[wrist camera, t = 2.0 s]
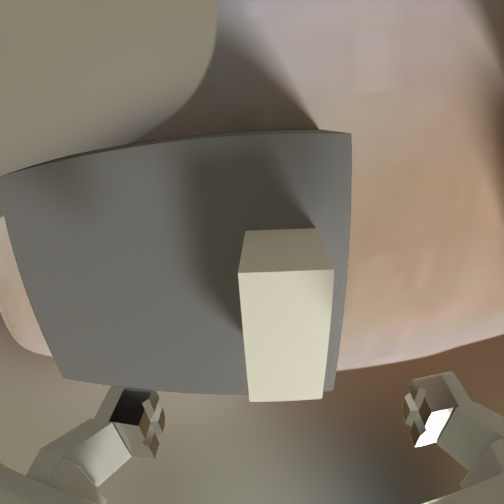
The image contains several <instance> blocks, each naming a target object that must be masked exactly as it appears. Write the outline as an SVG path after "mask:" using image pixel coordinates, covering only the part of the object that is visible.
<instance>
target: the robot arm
mask: <svg viewBox="0 0 504 504" xmlns="http://www.w3.org/2000/svg"><path fill="white" fill-rule="evenodd" d="M408 389H409V391H410V393H409V394H407V396H405V398H404V401H403V404H402V413H403V418H404V421H405V423H406V424H408V425H409V426H411V429H410V432H409V434H410V437H411V439H412V442H413V445H414V447H418V446H423V445H427V444H431V443H435V442H437V443H436V444H437V445H439V446H440V447H441V448H442V449H443V450H445V451H446V452H447V453H448V454H450V455H451V456H452V457H453V458H454V459H455V460H457V461H458V462H459V463H460V464H461V465H463V466H464V467H465V468H466V469H468V470H469V471H470V473H469V474H468V475H467V476H466V477H465V478H464V480H463V481H462V483H461V484H460V485H461V487H462V490H461V491H458V492H455V493H452V494H450V495H447V496H444V497H441V498H438V499H435V500H432V501H429V502H426V503H422V504H504V417H502V416H500V415H498V414H496V413H495V412H492V411H491V410H489V409H487V408H485V407H484V406H482V405H480V404H478V403H476V402H473V403H472V402H471V400H470V399H469V397H468V395H467V394H466V392H465V390H464V389H463V387H462V386H461V384H460V382H459V381H458V379H457V378H456V376H455V375H454V373H453V372H451V371H450V372H447V373H442V374H438V375H437V374H436V375H432V376H427V377H422V378H417V379H412V381H411V382H410V384H409V386H408ZM158 400H159V396H158V394H157V391H154V390H147V389H139V388H132V387H124V386H117V385H113V386H112V387H110V389H109V391H108V393H107V395H106V397H105V399H104V400H103V402H102V404H101V406H100V408H99V410H98V412H97V414H96V416H95V418H94V419H88V420H87V421H85V422H84V423H82V424H80V425H79V426H77V427H76V428H74V429H72V430H71V431H69V432H67V433H66V434H64V435H62V436H61V437H59V438H57V439H56V440H54V441H53V442H51V443H49V444H47V445H46V446H44V447H42V448H41V449H40V450H39V452H38V454H37V456H36V458H35V459H34V461H33V463H32V465H31V467H30V469H29V471H28V472H27V474H26V476H25V475H23V474H20V473H18V472H16V471H14V470H12V469H10V468H8V467H6V466H4V465H2V464H1V463H0V504H106V503H107V498H106V497H105V495H104V494H103V493H102V492H101V491H100V490H99V489H98V488H97V487H98V486H99V485H100V484H101V483H103V482H104V481H105V480H106V479H107V478H108V477H109V476H111V475H112V474H113V473H114V472H115V471H116V470H117V469H118V468H119V467H121V466H122V465H123V464H124V463H125V462H126V461H127V460H128V459H129V458H130V457H131V455H133V456H139V457H147V458H154V459H155V457H156V454H157V450H158V447H159V444H160V443H159V441H158V439H157V437H158V436H159V435H161V434H162V433H163V430H164V426H165V414H164V410H163V407H162V406H160V405H159V404H158Z"/></svg>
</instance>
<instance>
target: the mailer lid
mask: <svg viewBox="0 0 504 504" xmlns="http://www.w3.org/2000/svg"><path fill="white" fill-rule="evenodd" d="M351 177H352V143H351V134H350V133H273V134H250V135H234V136H220V137H208V138H198V139H188V140H179V141H170V142H162V143H155V144H148V145H141V146H134V147H128V148H121V149H115V150H110V151H104V152H99V153H93V154H88V155H83V156H78V157H74V158H69V159H64V160H60V161H55V162H51V163H47V164H43V165H39V166H35V167H31V168H27V169H23V170H20V171H16V172H12V173H9V174H5V175H2V176H0V197H1V202H2V207H3V212H4V217H5V221H6V226H7V230H8V234H9V238H10V241H11V245H12V249H13V252H14V256H15V259H16V262H17V266H18V269H19V272H20V275H21V278H22V281H23V284H24V287H25V290H26V293H27V296H28V298H29V301H30V304H31V306H32V309H33V312H34V314H35V317H36V319H37V322H38V324H39V326H40V329H41V331H42V334H43V336H44V338H45V340H46V343H47V345H48V347H49V349H50V351H51V353H52V356H53V358H54V360H55V362H56V364H57V366H58V368H59V370H60V372H61V374H62V376H63V378H67V379H72V380H78V381H84V382H90V383H96V384H103V385H110V386H113V385H117V386H124V387H132V388H139V389H147V390H154V391H166V392H180V393H197V394H228V395H230V394H231V395H232V394H233V395H239V394H240V395H249V401H250V402H265V401H294V400H311V399H322V394H323V391H333V388H334V381H335V374H336V368H337V361H338V354H339V347H340V339H341V330H342V322H343V313H344V303H345V292H346V281H347V268H348V254H349V237H350V216H351Z"/></svg>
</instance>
